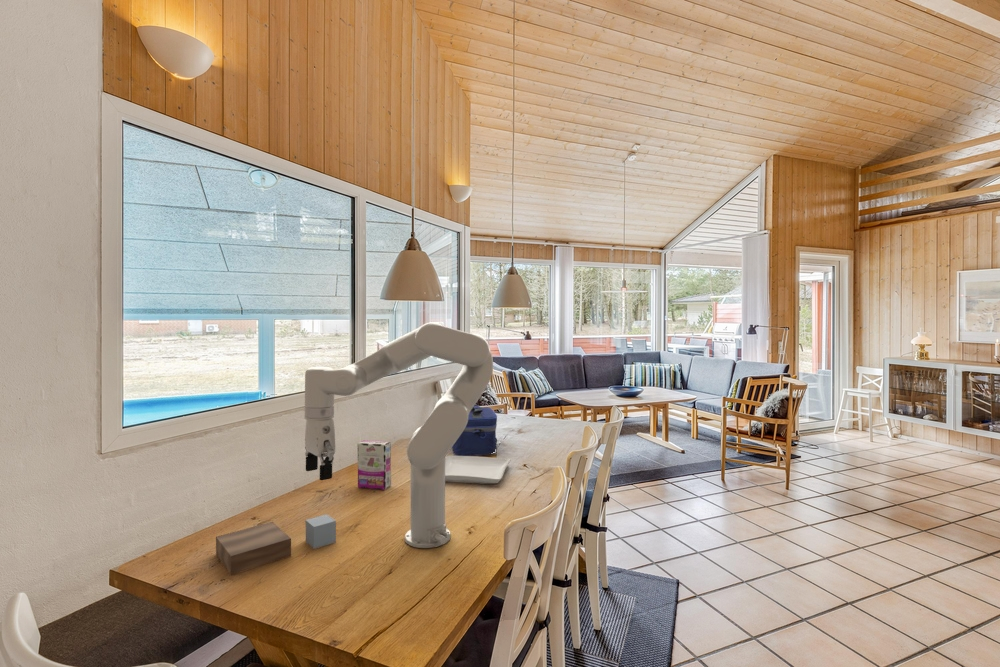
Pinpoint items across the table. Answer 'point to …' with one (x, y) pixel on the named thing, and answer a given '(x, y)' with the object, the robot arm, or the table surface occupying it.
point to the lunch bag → (478, 433)
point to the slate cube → (320, 531)
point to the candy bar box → (374, 465)
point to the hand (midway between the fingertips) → (318, 474)
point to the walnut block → (252, 547)
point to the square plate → (474, 469)
